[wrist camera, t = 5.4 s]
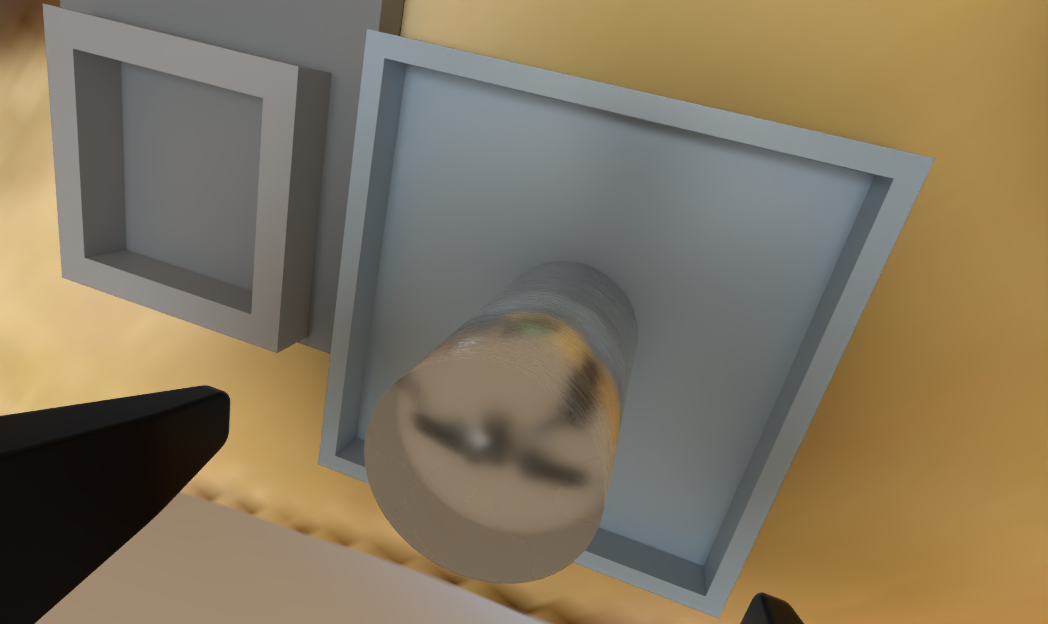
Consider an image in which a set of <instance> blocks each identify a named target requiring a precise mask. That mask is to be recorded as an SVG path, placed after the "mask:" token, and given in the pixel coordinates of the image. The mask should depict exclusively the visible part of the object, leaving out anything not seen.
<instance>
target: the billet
mask: <svg viewBox="0 0 1048 624" xmlns="http://www.w3.org/2000/svg"><path fill="white" fill-rule="evenodd" d="M637 340H638V326H637V321H636V316H635V313H634V310H633V307H632V305H631V303H630V301H629V299H628V298H627V296H626V295H625V293H624V292H623V290H622V289H621V288H620V287H619V286H618V285H617V284H616V283H615V282H614V281H613V280H612V279H611V278H610V277H608V276H607V275H605V274H604V273H602V272H601V271H599V270H597V269H595V268H593V267H590V266H588V265H585V264H581V263H577V262H570V261H554V262H548V263H544V264H541V265H538V266H535V267H533V268H531V269H529V270H527V271H526V272H524V273H523V274H521V275H520V276H519V277H518V278H517V279H515V280H514V281H513V282H512V283H511V284H509V285H508V286H507V287H506V288H505V289H504V290H502V291H501V292H500V293H499V294H498V295H497V296H495V297H494V298H493V299H492V300H491V301H490V302H488V303H487V304H486V305H485V306H484V307H483V308H481V309H480V310H479V311H478V312H477V313H476V314H474V315H473V316H472V317H471V318H470V319H469V320H467V321H466V322H465V323H464V324H463V325H462V326H460V327H459V328H458V329H457V330H456V331H455V332H453V333H452V334H451V335H450V336H449V337H448V338H446V339H445V340H444V341H443V342H442V343H441V344H439V345H438V346H437V347H436V348H435V349H434V350H432V351H431V352H430V353H429V354H428V355H427V356H425V357H424V358H423V359H422V360H421V361H420V362H418V363H417V364H416V365H415V366H414V367H413V368H411V369H410V370H409V371H408V372H407V373H406V374H404V375H403V376H402V377H401V378H400V379H399V380H397V381H396V382H395V383H394V384H393V385H392V386H391V387H390V388H388V389H387V391H386V392H385V393H384V394H383V396H382V397H381V398H380V399H379V401H378V403H377V404H376V406H375V408H374V410H373V411H372V414H371V417H370V419H369V422H368V425H367V430H366V434H365V443H364V458H365V467H366V472H367V477H368V481H369V484H370V487H371V490H372V492H373V495H374V497H375V499H376V501H377V503H378V505H379V507H380V509H381V510H382V512H383V514H384V515H385V517H386V518H387V520H388V521H389V522H390V524H391V525H392V526H393V528H394V529H395V530H396V531H397V532H398V533H399V534H400V535H401V537H402V538H403V539H404V540H405V541H406V542H407V543H409V544H410V545H411V546H412V547H413V548H414V549H415V550H417V551H418V552H419V553H421V554H422V555H423V556H425V557H426V558H427V559H429V560H431V561H432V562H434V563H436V564H437V565H439V566H441V567H443V568H445V569H447V570H449V571H451V572H454V573H456V574H459V575H462V576H464V577H467V578H470V579H475V580H479V581H483V582H490V583H499V584H515V583H524V582H530V581H535V580H539V579H542V578H545V577H547V576H550V575H553V574H555V573H557V572H559V571H560V570H562V569H564V568H565V567H567V566H568V565H570V564H571V563H572V562H573V561H575V560H576V559H577V558H578V557H579V556H580V555H581V554H582V553H583V552H584V551H585V549H586V548H587V547H588V545H589V544H590V542H591V541H592V539H593V538H594V536H595V534H596V532H597V529H598V527H599V525H600V522H601V518H602V514H603V510H604V505H605V500H606V495H607V490H608V485H609V480H610V475H611V470H612V465H613V461H614V456H615V451H616V446H617V441H618V436H619V431H620V426H621V421H622V416H623V411H624V406H625V401H626V396H627V392H628V387H629V382H630V377H631V372H632V367H633V362H634V357H635V352H636V347H637Z"/></svg>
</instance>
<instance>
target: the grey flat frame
mask: <svg viewBox="0 0 1048 624" xmlns="http://www.w3.org/2000/svg"><path fill="white" fill-rule="evenodd" d="M403 4H404V0H60V7H57V6H52V5H47V4H43V14H44V28H45V42H46V56H47V70H48V84H49V98H50V112H51V126H52V140H53V154H54V168H55V182H56V196H57V210H58V224H59V239H60V253H61V267H62V278H65V279H68V280H71V281H73V282H76V283H79V284H82V285H85V286H88V287H91V288H93V289H96V290H99V291H102V292H105V293H108V294H111V295H113V296H116V297H119V298H122V299H125V300H128V301H130V302H133V303H136V304H139V305H142V306H145V307H148V308H150V309H153V310H156V311H159V312H162V313H165V314H167V315H170V316H173V317H176V318H179V319H182V320H185V321H187V322H190V323H193V324H196V325H199V326H202V327H205V328H207V329H210V330H213V331H216V332H219V333H222V334H224V335H227V336H230V337H233V338H236V339H239V340H242V341H244V342H247V343H250V344H253V345H256V346H259V347H261V348H264V349H267V350H270V351H273V352H276V353H278V352H280V351H282V350H284V349H285V348H287V347H289V346H291V345H293V344H295V343H297V342H298V343H301V344H304V345H307V346H310V347H313V348H316V349H319V350H322V351H324V352H327V353H330V354H331V345H332V336H333V327H334V318H335V310H336V301H337V292H338V283H339V274H340V265H341V256H342V247H343V238H344V229H345V221H346V212H347V203H348V194H349V185H350V176H351V167H352V158H353V149H354V140H355V132H356V123H357V114H358V105H359V96H360V87H361V78H362V69H363V60H364V51H365V43H366V34H367V29H370V30H374V31H379V32H383V33H388V34H392V35H396V36H399V35H400V27H401V20H402V12H403Z"/></svg>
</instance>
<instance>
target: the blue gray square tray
mask: <svg viewBox="0 0 1048 624" xmlns="http://www.w3.org/2000/svg"><path fill="white" fill-rule="evenodd" d="M934 159H935V158H931V157H927V156H923V155H918V154H914V153H909V152H905V151H901V150H896V149H892V148H888V147H883V146H879V145H874V144H870V143H866V142H861V141H857V140H852V139H848V138H844V137H839V136H835V135H830V134H826V133H822V132H817V131H813V130H809V129H804V128H800V127H795V126H791V125H787V124H782V123H778V122H773V121H769V120H765V119H760V118H756V117H752V116H747V115H743V114H738V113H734V112H730V111H725V110H721V109H716V108H712V107H708V106H703V105H699V104H695V103H690V102H686V101H681V100H677V99H673V98H668V97H664V96H659V95H655V94H651V93H646V92H642V91H638V90H633V89H629V88H624V87H620V86H616V85H611V84H607V83H602V82H598V81H594V80H589V79H585V78H580V77H576V76H572V75H567V74H563V73H559V72H554V71H550V70H545V69H541V68H537V67H532V66H528V65H523V64H519V63H515V62H510V61H506V60H502V59H497V58H493V57H488V56H484V55H480V54H475V53H471V52H466V51H462V50H458V49H453V48H449V47H445V46H440V45H436V44H431V43H427V42H423V41H418V40H414V39H409V38H405V37H401V36H396V35H392V34H388V33H383V32H379V31H374V30H370V29H367V34H366V43H365V51H364V60H363V69H362V78H361V87H360V96H359V105H358V114H357V123H356V132H355V140H354V149H353V158H352V167H351V176H350V185H349V194H348V203H347V212H346V221H345V229H344V238H343V247H342V256H341V265H340V274H339V283H338V292H337V301H336V310H335V318H334V327H333V336H332V345H331V354H330V363H329V372H328V381H327V390H326V399H325V407H324V416H323V425H322V434H321V443H320V452H319V461H318V464H319V465H322V466H324V467H327V468H329V469H332V470H335V471H337V472H340V473H342V474H345V475H348V476H350V477H353V478H355V479H358V480H361V481H363V482H366V483H368V484H369V481H368V477H367V472H366V467H365V458H364V443H365V434H366V430H367V425H368V422H369V419H370V417H371V414H372V411H373V410H374V408H375V406H376V404H377V403H378V401H379V399H380V398H381V397H382V396H383V394H384V393H385V392H386V391H387V389H388V388H390V387H391V386H392V385H393V384H394V383H395V382H396V381H397V380H399V379H400V378H401V377H402V376H403V375H404V374H406V373H407V372H408V371H409V370H410V369H411V368H413V367H414V366H415V365H416V364H417V363H418V362H420V361H421V360H422V359H423V358H424V357H425V356H427V355H428V354H429V353H430V352H431V351H432V350H434V349H435V348H436V347H437V346H438V345H439V344H441V343H442V342H443V341H444V340H445V339H446V338H448V337H449V336H450V335H451V334H452V333H453V332H455V331H456V330H457V329H458V328H459V327H460V326H462V325H463V324H464V323H465V322H466V321H467V320H469V319H470V318H471V317H472V316H473V315H474V314H476V313H477V312H478V311H479V310H480V309H481V308H483V307H484V306H485V305H486V304H487V303H488V302H490V301H491V300H492V299H493V298H494V297H495V296H497V295H498V294H499V293H500V292H501V291H502V290H504V289H505V288H506V287H507V286H508V285H509V284H511V283H512V282H513V281H514V280H515V279H517V278H518V277H519V276H520V275H521V274H523V273H524V272H526V271H527V270H529V269H531V268H533V267H535V266H538V265H541V264H544V263H548V262H554V261H570V262H577V263H581V264H585V265H588V266H590V267H593V268H595V269H597V270H599V271H601V272H602V273H604V274H605V275H607V276H608V277H610V278H611V279H612V280H613V281H614V282H615V283H616V284H617V285H618V286H619V287H620V288H621V289H622V290H623V292H624V293H625V295H626V296H627V298H628V299H629V301H630V303H631V305H632V307H633V310H634V313H635V316H636V321H637V326H638V340H637V347H636V352H635V357H634V362H633V367H632V372H631V377H630V382H629V387H628V392H627V396H626V401H625V406H624V411H623V416H622V421H621V426H620V431H619V436H618V441H617V446H616V451H615V456H614V461H613V465H612V470H611V475H610V480H609V485H608V490H607V495H606V500H605V505H604V510H603V514H602V518H601V522H600V525H599V527H598V529H597V532H596V534H595V536H594V538H593V539H592V541H591V542H590V544H589V545H588V547H587V548H586V549H585V551H584V552H583V553H582V554H581V555H580V556H579V557H578V558H577V559H576V560H575V561H573V562H574V563H576V564H579V565H581V566H584V567H586V568H589V569H592V570H594V571H597V572H599V573H602V574H605V575H607V576H610V577H612V578H615V579H618V580H620V581H623V582H625V583H628V584H631V585H633V586H636V587H638V588H641V589H644V590H646V591H649V592H651V593H654V594H657V595H659V596H662V597H664V598H667V599H670V600H672V601H675V602H677V603H680V604H683V605H685V606H688V607H690V608H693V609H696V610H698V611H701V612H703V613H706V614H709V615H711V616H714V617H716V618H719V617H720V615H721V612H722V610H723V608H724V606H725V604H726V602H727V600H728V597H729V595H730V593H731V591H732V589H733V587H734V585H735V583H736V580H737V578H738V576H739V574H740V572H741V570H742V568H743V566H744V563H745V561H746V559H747V557H748V555H749V553H750V551H751V549H752V546H753V544H754V542H755V540H756V538H757V536H758V534H759V532H760V529H761V527H762V525H763V523H764V521H765V519H766V517H767V515H768V512H769V510H770V508H771V506H772V504H773V502H774V500H775V498H776V495H777V493H778V491H779V489H780V487H781V485H782V483H783V481H784V478H785V476H786V474H787V472H788V470H789V468H790V466H791V464H792V461H793V459H794V457H795V455H796V453H797V451H798V449H799V447H800V444H801V442H802V440H803V438H804V436H805V434H806V432H807V429H808V427H809V425H810V423H811V421H812V419H813V417H814V415H815V412H816V410H817V408H818V406H819V404H820V402H821V400H822V398H823V395H824V393H825V391H826V389H827V387H828V385H829V383H830V381H831V378H832V376H833V374H834V372H835V370H836V368H837V366H838V364H839V361H840V359H841V357H842V355H843V353H844V351H845V349H846V347H847V344H848V342H849V340H850V338H851V336H852V334H853V332H854V330H855V327H856V325H857V323H858V321H859V319H860V317H861V315H862V313H863V310H864V308H865V306H866V304H867V302H868V300H869V298H870V296H871V293H872V291H873V289H874V287H875V285H876V283H877V281H878V279H879V276H880V274H881V272H882V270H883V268H884V266H885V264H886V262H887V259H888V257H889V255H890V253H891V251H892V249H893V247H894V244H895V242H896V240H897V238H898V236H899V234H900V232H901V230H902V227H903V225H904V223H905V221H906V219H907V217H908V215H909V213H910V210H911V208H912V206H913V204H914V202H915V200H916V198H917V196H918V193H919V191H920V189H921V187H922V185H923V183H924V181H925V179H926V176H927V174H928V172H929V170H930V168H931V166H932V164H933V162H934Z"/></svg>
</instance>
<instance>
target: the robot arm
mask: <svg viewBox="0 0 1048 624" xmlns="http://www.w3.org/2000/svg"><path fill="white" fill-rule="evenodd" d="M229 419H230V398H229V395H228V394H227V393H226V392H224V391H221V390H219V389H216V388H213V387H211V386H205V385H204V386H197V387H190V388H183V389H177V390H170V391H163V392H157V393H150V394H143V395H137V396H130V397H123V398H117V399H110V400H103V401H97V402H90V403H83V404H77V405H70V406H64V407H57V408H50V409H44V410H37V411H30V412H24V413H17V414H10V415H4V416H0V624H35V623H36V622H37V621H38V620H39V619H40V618H41V617H42V616H43V615H45V614H46V613H47V612H48V611H49V610H50V609H52V608H53V607H54V606H55V605H56V604H57V603H58V602H59V601H61V600H62V599H63V598H64V597H65V596H66V595H67V594H69V593H70V592H71V591H72V590H73V589H74V588H75V587H76V586H78V585H79V584H80V583H81V582H82V581H83V580H84V579H86V578H87V577H88V576H89V575H90V574H91V573H92V572H93V571H95V570H96V569H97V568H98V567H99V566H100V565H101V564H103V563H104V562H105V561H106V560H107V559H108V558H109V557H111V555H113V554H114V553H115V552H116V551H117V550H119V549H120V548H121V547H122V546H123V545H124V544H125V543H126V542H128V541H129V540H130V539H131V538H132V537H133V536H134V535H136V534H137V533H138V532H139V531H140V530H141V529H142V528H143V527H145V526H146V525H147V524H148V523H149V522H150V521H151V520H152V519H153V518H154V517H155V516H156V515H158V513H159V512H160V511H162V509H164V507H166V506H167V504H168V503H169V502H170V501H171V500H172V499H173V498H174V497H175V496H176V495H177V494H178V493H179V492H180V491H181V490H182V489H183V488H184V487H185V486H186V485H187V484H188V482H189V481H190V480H191V479H192V478H193V477H194V476H195V475H196V474H197V473H198V472H199V471H200V470H201V469H202V468H203V467H204V466H205V465H206V464H207V462H208V461H209V460H210V459H211V458H212V457H213V456H214V455H215V454H216V453H217V452H218V451H219V450H220V449H221V448H222V446H223V445H224V444H225V442H226V440H227V438H228V434H229ZM741 624H804V623H803V622H802V620H801V619H800V618H799V616H798V615H797V614H796V612H795V611H794V609H793V608H792V607H791V606H790V605H789V603H787V602H786V601H784V600H781V599H779V598H776V597H773V596H771V595H768V594H765V593H758V594H756V595H755V596H754V598H753V599H752V601H751V603H750V605H749V607H748V609H747V611H746V614H745V616H744V618H743V620H742V622H741Z"/></svg>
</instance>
